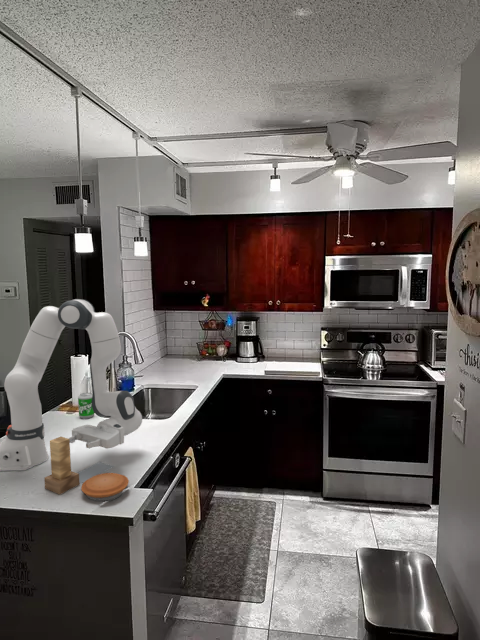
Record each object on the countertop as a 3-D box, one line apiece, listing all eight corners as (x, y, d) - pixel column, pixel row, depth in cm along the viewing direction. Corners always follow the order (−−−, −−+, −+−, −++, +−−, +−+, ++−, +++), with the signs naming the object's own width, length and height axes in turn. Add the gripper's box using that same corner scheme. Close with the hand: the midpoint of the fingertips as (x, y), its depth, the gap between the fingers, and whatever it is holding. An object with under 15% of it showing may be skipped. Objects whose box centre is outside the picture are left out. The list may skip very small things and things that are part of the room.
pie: (72, 503, 147) (71, 489, 146) (95, 481, 162) (94, 468, 161) (117, 507, 144) (116, 493, 144) (135, 484, 159) (135, 471, 159)
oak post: (60, 479, 153) (58, 443, 151) (51, 476, 155) (49, 440, 153) (71, 474, 156) (69, 438, 155) (62, 471, 159) (60, 436, 157)
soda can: (76, 416, 230) (75, 394, 229) (90, 413, 235) (89, 391, 234) (82, 420, 224) (81, 397, 223) (96, 417, 229) (95, 394, 228)
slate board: (61, 496, 151) (61, 493, 151) (46, 490, 155) (46, 487, 155) (114, 468, 172) (114, 466, 171) (100, 463, 176) (100, 461, 176)
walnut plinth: (60, 494, 151) (59, 483, 150) (44, 488, 155) (44, 477, 154) (79, 484, 157) (78, 473, 157) (64, 479, 161) (63, 468, 161)
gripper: (88, 418, 177) (59, 429, 166) (126, 427, 167) (97, 440, 155) (89, 433, 178) (60, 445, 166) (127, 444, 168) (98, 457, 156)
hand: (78, 443), depth 161 cm, fingers open, 8 cm apart
